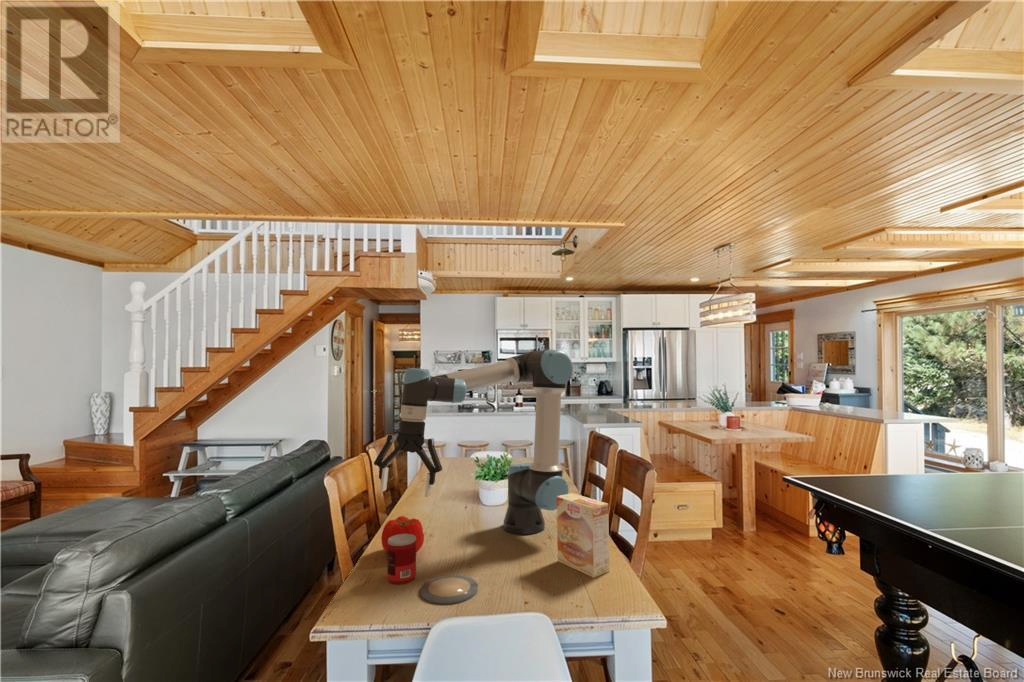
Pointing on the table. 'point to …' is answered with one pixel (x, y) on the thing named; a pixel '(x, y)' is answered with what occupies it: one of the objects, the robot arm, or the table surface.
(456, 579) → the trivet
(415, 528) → the tomato
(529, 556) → the table surface
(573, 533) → the coffeecake box
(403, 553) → the canned food
